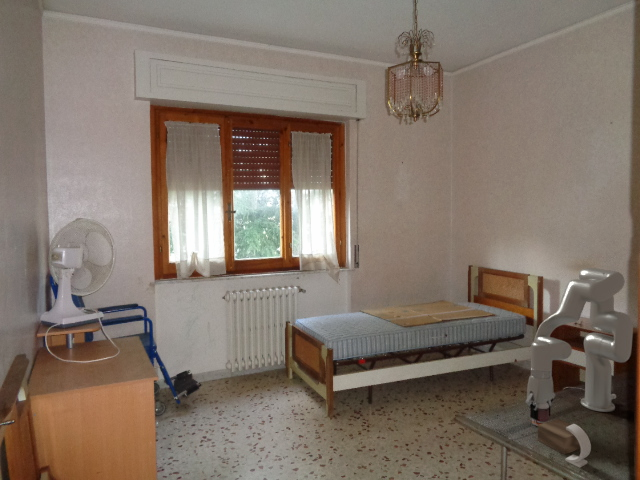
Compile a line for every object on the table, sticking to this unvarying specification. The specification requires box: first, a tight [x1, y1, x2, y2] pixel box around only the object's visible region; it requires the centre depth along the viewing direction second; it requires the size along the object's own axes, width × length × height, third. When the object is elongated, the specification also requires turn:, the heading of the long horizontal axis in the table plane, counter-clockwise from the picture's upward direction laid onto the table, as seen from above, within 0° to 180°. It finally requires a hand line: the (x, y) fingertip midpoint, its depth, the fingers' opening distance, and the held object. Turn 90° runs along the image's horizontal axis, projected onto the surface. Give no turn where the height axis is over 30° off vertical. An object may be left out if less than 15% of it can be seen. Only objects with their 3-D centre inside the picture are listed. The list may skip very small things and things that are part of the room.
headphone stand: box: [564, 423, 592, 468], centre depth 159 cm, size 5×6×12 cm
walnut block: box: [537, 418, 587, 455], centre depth 172 cm, size 11×11×6 cm
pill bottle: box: [531, 399, 550, 427], centre depth 187 cm, size 6×6×11 cm
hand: (540, 416), depth 187 cm, fingers closed on pill bottle, 6 cm apart
